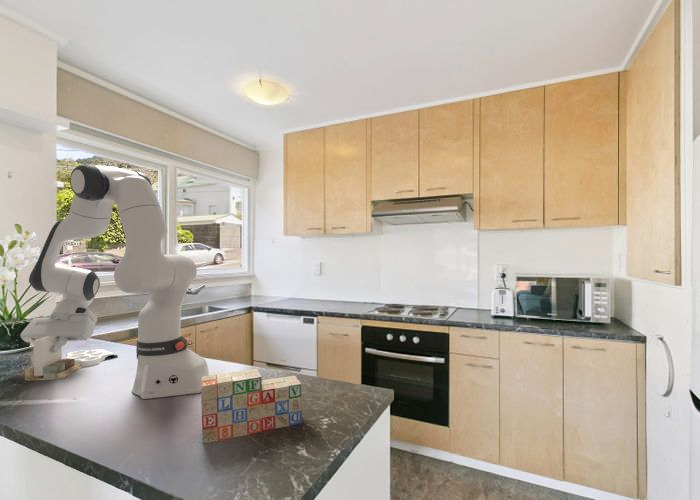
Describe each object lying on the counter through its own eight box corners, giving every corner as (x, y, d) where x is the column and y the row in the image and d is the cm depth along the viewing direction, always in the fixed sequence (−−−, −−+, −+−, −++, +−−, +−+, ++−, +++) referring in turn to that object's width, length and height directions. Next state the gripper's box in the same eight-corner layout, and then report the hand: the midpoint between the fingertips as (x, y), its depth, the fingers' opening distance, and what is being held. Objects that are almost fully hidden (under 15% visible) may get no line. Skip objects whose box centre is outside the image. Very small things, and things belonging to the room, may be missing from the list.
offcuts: (63, 369, 117) (63, 359, 117) (74, 369, 117) (74, 358, 117) (43, 378, 108) (43, 367, 108) (55, 378, 109) (55, 367, 109)
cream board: (53, 367, 116) (53, 334, 116) (61, 367, 116) (61, 333, 116) (34, 375, 108) (33, 340, 108) (42, 375, 108) (42, 339, 108)
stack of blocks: (296, 412, 87) (295, 362, 87) (302, 424, 81) (301, 370, 81) (201, 430, 79) (201, 375, 79) (201, 444, 73) (200, 385, 73)
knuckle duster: (122, 362, 128) (73, 374, 116) (101, 354, 138) (54, 364, 126) (122, 353, 128) (73, 364, 116) (101, 346, 138) (54, 355, 126)
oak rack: (49, 372, 117) (49, 358, 117) (81, 371, 118) (81, 357, 118) (24, 383, 107) (24, 369, 107) (60, 382, 108) (59, 367, 108)
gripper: (30, 311, 118) (4, 348, 108) (94, 309, 120) (75, 345, 110) (40, 321, 123) (17, 358, 113) (102, 319, 125) (85, 355, 115)
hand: (46, 351), depth 112 cm, fingers closed on cream board, 2 cm apart
